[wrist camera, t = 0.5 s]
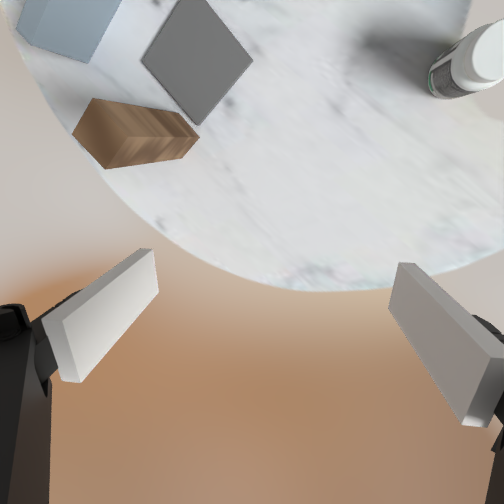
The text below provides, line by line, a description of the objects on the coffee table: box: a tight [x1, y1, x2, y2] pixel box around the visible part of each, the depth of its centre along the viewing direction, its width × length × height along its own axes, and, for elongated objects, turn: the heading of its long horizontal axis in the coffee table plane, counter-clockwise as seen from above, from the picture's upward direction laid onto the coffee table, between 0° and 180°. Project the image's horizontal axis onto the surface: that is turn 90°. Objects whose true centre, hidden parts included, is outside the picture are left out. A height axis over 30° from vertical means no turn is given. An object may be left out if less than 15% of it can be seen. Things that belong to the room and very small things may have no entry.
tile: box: [16, 0, 122, 63], centre depth 30 cm, size 10×2×8 cm, turn 133°
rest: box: [142, 0, 253, 126], centre depth 32 cm, size 10×10×1 cm
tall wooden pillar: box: [72, 98, 200, 169], centre depth 30 cm, size 4×4×15 cm
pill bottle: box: [428, 19, 504, 100], centre depth 24 cm, size 5×5×8 cm
